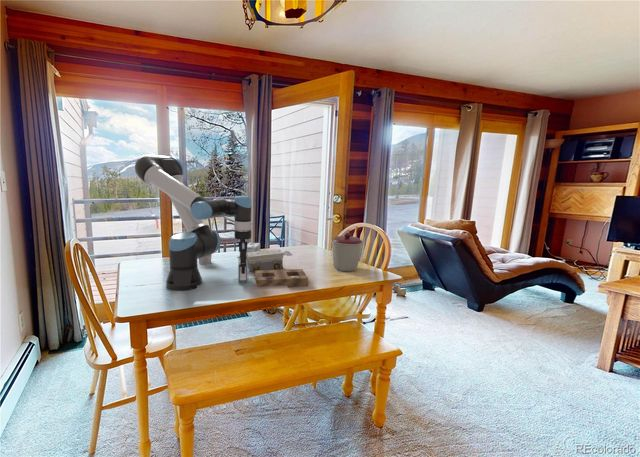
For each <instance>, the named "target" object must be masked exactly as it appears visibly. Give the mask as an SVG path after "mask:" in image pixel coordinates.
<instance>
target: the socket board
mask: <svg viewBox="0 0 640 457" xmlns="http://www.w3.org/2000/svg"><path fill="white" fill-rule="evenodd" d="M254 279H255V286H256V287H257V288H258V287H274V286H275V287H277V286H287V288H299V287H308V286H309V278H308V276H307V274H306V272H305V271H304V270H303V268H299V269H298V268H295V269H292V268H290V269H282V270H258V271H254Z"/></svg>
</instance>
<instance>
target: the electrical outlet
mask: <svg viewBox="0 0 640 457" xmlns="http://www.w3.org/2000/svg"><path fill="white" fill-rule="evenodd" d="M284 256H290V257H291V256H293V253H291V250H290V251H289V250H285V251H282V250H281V249H280V248H277V249H268V250H260V251H256V252H248V253H247V259H246V260H247V264H248V265H247V270H248V272H251V273H253V272H254V273H255V271H258V270H284V268H283V267H284V262H283V259H284ZM236 258H237V259H238V260H240V255H239V256H237V257H236Z"/></svg>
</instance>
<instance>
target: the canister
mask: <svg viewBox="0 0 640 457" xmlns="http://www.w3.org/2000/svg"><path fill="white" fill-rule="evenodd" d="M330 241H331V250H332V252H331V254H332V263H333V266H334V269H336V270H337V271H340V272H354V271H355V270H357V268H358V267H359V266H358V265H359V261H360V256H361V251H362V248H363V247H362V246H363V244H364V241H363V240H362V239H361V238H360V237H356V236H351V233H350V232H344V235H337V236H334V237H332V238H331V239H330Z"/></svg>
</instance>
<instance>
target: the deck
mask: <svg viewBox="0 0 640 457" xmlns="http://www.w3.org/2000/svg"><path fill="white" fill-rule="evenodd" d="M253 285H254V282H253V278H252V277H247V283H238V278H233V279H232V287H233V286H253Z"/></svg>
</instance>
